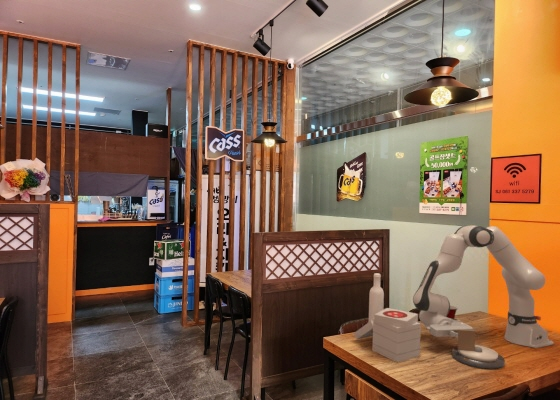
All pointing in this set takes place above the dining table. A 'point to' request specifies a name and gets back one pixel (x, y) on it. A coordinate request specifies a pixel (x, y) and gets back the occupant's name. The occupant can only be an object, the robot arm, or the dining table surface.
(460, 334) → the dial
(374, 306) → the bottle
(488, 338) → the dining table surface
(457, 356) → the dial housing
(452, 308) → the plastic cup
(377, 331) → the pizza boxes
